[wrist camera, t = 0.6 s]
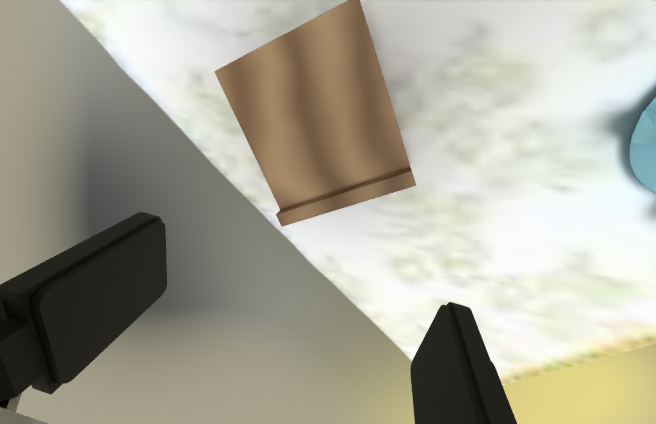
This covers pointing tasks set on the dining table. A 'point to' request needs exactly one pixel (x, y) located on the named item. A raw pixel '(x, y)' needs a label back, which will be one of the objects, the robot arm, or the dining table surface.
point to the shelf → (319, 116)
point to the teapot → (645, 148)
